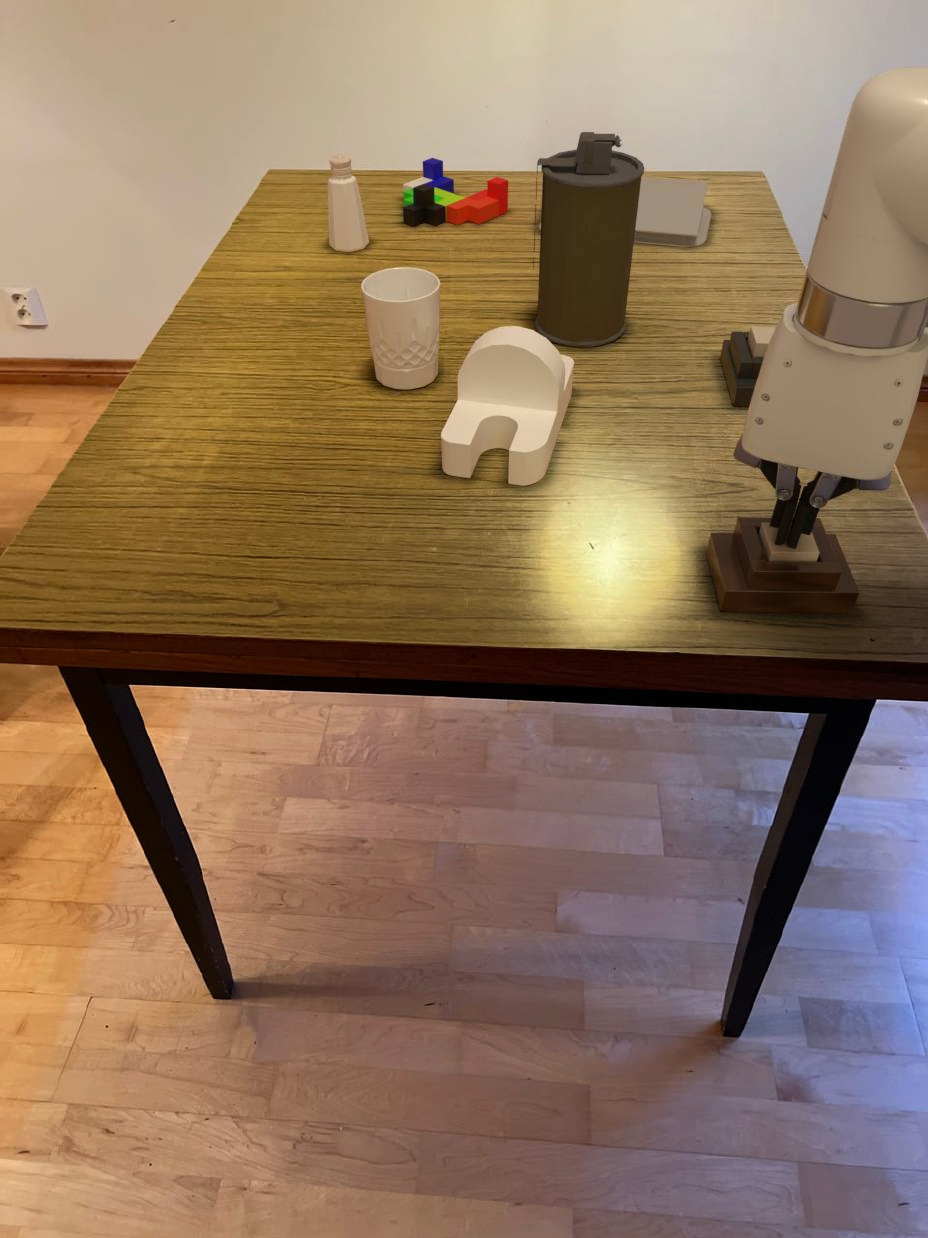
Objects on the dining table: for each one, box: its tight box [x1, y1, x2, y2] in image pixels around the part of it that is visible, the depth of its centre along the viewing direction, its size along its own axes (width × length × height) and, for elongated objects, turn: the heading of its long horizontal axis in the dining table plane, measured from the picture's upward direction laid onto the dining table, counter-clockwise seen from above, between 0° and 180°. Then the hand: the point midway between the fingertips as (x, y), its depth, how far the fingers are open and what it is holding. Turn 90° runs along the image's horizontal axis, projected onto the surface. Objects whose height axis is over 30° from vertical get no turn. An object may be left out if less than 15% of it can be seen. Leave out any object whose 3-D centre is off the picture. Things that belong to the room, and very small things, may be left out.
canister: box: [532, 131, 645, 348], centre depth 95 cm, size 11×10×20 cm
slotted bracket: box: [440, 325, 575, 487], centre depth 83 cm, size 18×10×10 cm, turn 165°
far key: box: [747, 325, 776, 357], centre depth 89 cm, size 4×4×2 cm
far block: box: [719, 331, 764, 408], centre depth 91 cm, size 10×7×4 cm
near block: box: [706, 516, 860, 614], centre depth 69 cm, size 10×7×4 cm
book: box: [538, 176, 712, 248], centre depth 123 cm, size 15×23×4 cm, turn 74°
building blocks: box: [402, 157, 509, 227], centre depth 126 cm, size 15×13×4 cm
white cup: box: [360, 266, 441, 390], centre depth 91 cm, size 8×8×10 cm
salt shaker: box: [327, 154, 370, 253], centre depth 116 cm, size 5×5×11 cm
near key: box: [758, 523, 819, 562], centre depth 68 cm, size 4×4×2 cm
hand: (787, 535), depth 67 cm, fingers closed
